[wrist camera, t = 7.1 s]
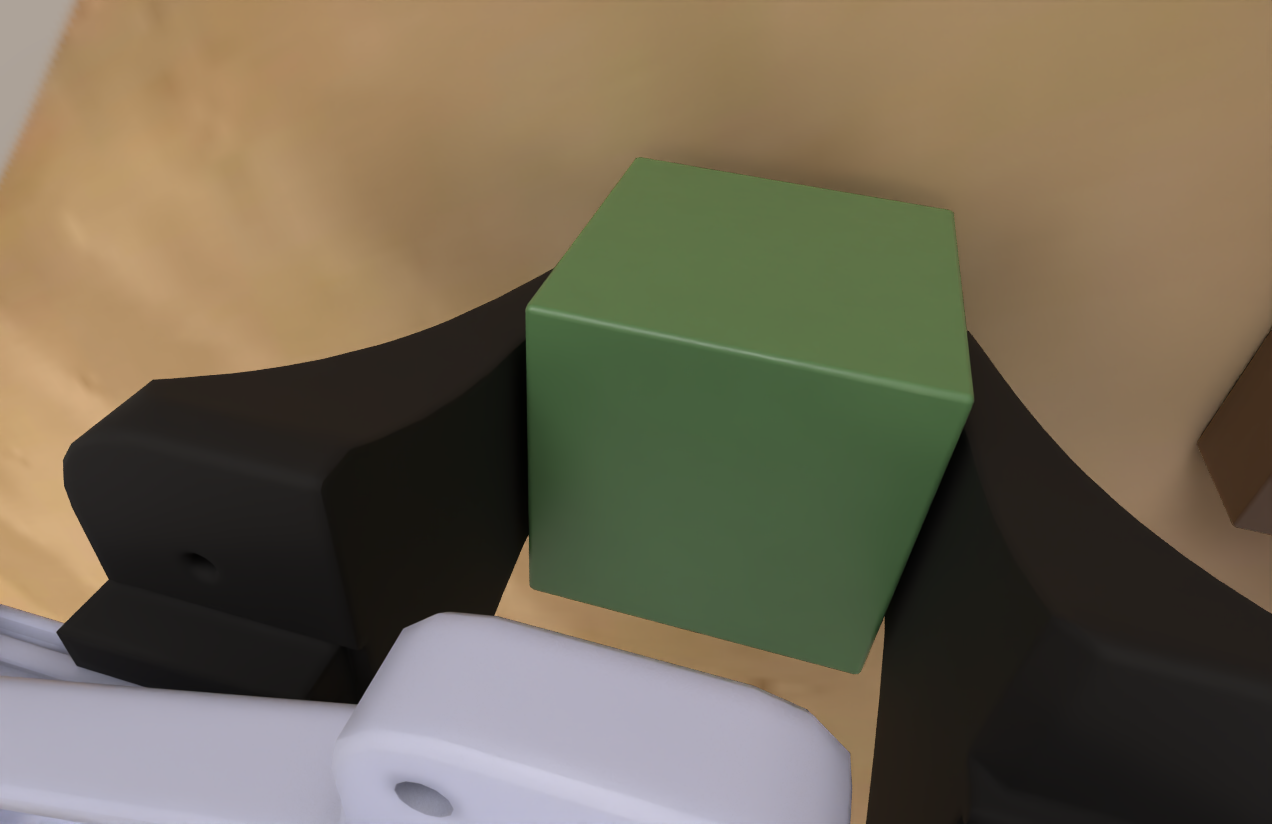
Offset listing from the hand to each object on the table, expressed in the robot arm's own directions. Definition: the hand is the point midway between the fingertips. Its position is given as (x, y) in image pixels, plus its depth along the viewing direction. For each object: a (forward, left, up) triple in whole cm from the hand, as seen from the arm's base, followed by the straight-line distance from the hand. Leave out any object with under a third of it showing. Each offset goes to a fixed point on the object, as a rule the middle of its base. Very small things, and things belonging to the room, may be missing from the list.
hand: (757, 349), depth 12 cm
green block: (0, 0, -1) cm, 1 cm away
